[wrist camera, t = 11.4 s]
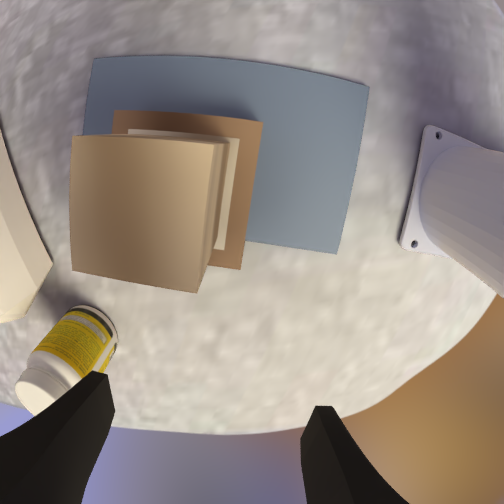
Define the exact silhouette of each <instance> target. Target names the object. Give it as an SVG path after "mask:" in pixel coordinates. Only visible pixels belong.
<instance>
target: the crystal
mask: <svg viewBox="0 0 504 504" xmlns="http://www.w3.org/2000/svg"><path fill="white" fill-rule="evenodd" d="M52 265H53V263H52V261H51V259H50V257H49V255H48V253H47V251H46V249H45V247H44V245H43V243H42V241H41V239H40V237H39V234H38V232H37V230H36V228H35V225H34V223H33V221H32V219H31V216H30V214H29V211H28V209H27V207H26V204H25V202H24V199H23V196H22V194H21V191H20V189H19V186H18V183H17V180H16V178H15V175H14V172H13V169H12V166H11V163H10V160H9V157H8V153H7V150H6V147H5V144H4V140H3V137H2V133H1V129H0V323H4V322H8V321H12V320H16V319H20V318H24V317H25V315H26V313H27V311H28V310H29V308H30V306H31V304H32V302H33V301H34V299H35V297H36V295H37V293H38V291H39V290H40V288H41V286H42V284H43V282H44V280H45V278H46V277H47V275H48V273H49V271H50V269H51V267H52Z"/></svg>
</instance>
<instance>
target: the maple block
mask: <svg viewBox="0 0 504 504" xmlns="http://www.w3.org/2000/svg"><path fill="white" fill-rule="evenodd" d="M229 149H230V143H227V142H220V141H211V140H202V139H193V138H183V137H171V136H159V135H144V134H105V135H80V136H72V147H71V162H70V191H69V215H70V244H71V259H72V270H73V271H77V272H82V273H87V274H92V275H97V276H102V277H107V278H112V279H117V280H122V281H128V282H133V283H139V284H144V285H150V286H155V287H161V288H167V289H173V290H179V291H185V292H191V293H197V292H198V290H199V287H200V284H201V281H202V278H203V276H204V273H205V270H206V267H207V265H208V262H209V259H210V256H211V254H212V251H213V248H214V246H215V243H216V240H217V237H218V229H219V221H220V213H221V206H222V198H223V191H224V184H225V176H226V169H227V162H228V156H229Z"/></svg>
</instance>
